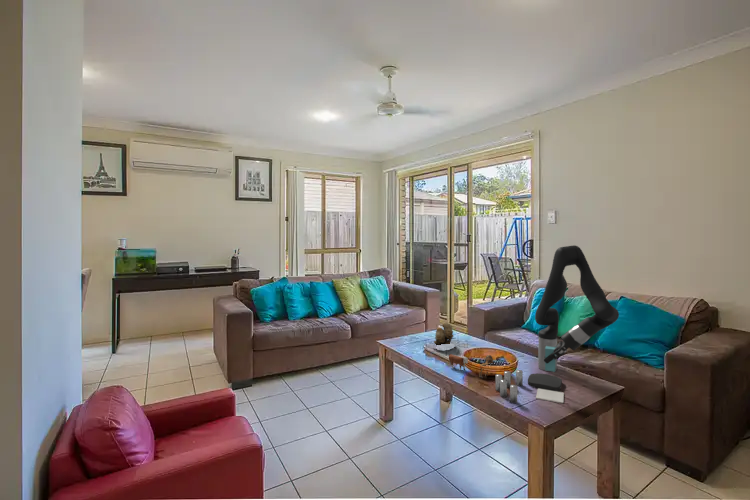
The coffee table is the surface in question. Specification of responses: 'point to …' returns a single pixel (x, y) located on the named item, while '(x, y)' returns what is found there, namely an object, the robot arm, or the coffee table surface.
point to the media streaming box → (545, 382)
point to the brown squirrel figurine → (444, 334)
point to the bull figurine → (458, 360)
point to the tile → (550, 395)
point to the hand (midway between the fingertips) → (545, 360)
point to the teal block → (551, 364)
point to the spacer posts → (509, 384)
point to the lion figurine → (488, 360)
